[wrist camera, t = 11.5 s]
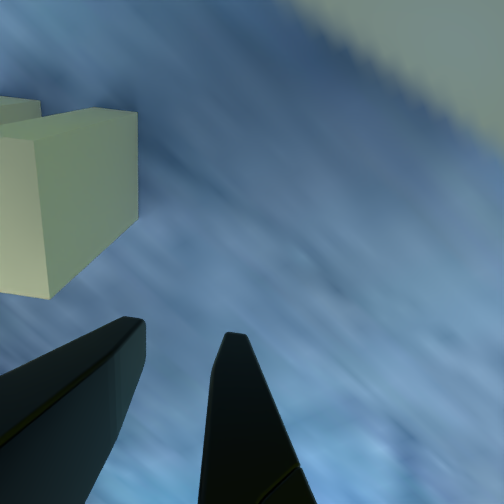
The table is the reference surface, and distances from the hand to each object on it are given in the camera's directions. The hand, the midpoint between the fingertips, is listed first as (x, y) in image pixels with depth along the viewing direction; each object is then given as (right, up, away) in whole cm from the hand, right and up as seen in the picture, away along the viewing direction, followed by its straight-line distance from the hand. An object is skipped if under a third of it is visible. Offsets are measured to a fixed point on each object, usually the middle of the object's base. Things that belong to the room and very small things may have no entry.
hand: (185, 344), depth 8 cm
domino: (-5, +6, +12) cm, 14 cm away
